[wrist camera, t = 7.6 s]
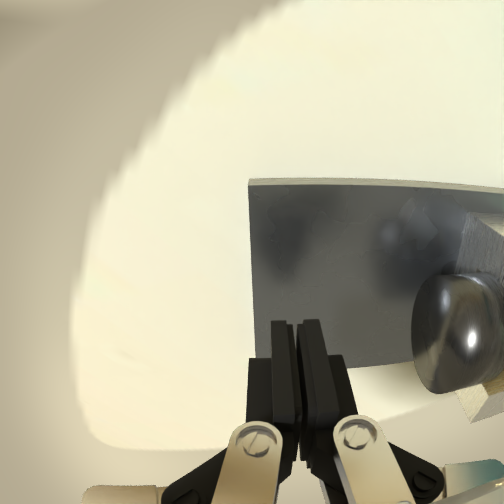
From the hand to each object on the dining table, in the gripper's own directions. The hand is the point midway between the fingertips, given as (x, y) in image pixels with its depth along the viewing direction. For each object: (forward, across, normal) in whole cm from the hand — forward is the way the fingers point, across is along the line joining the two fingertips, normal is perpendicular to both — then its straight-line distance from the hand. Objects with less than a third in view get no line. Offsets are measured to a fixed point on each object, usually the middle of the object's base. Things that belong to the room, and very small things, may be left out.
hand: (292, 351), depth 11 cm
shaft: (+3, -13, 0) cm, 14 cm away
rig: (+5, -12, 0) cm, 12 cm away
